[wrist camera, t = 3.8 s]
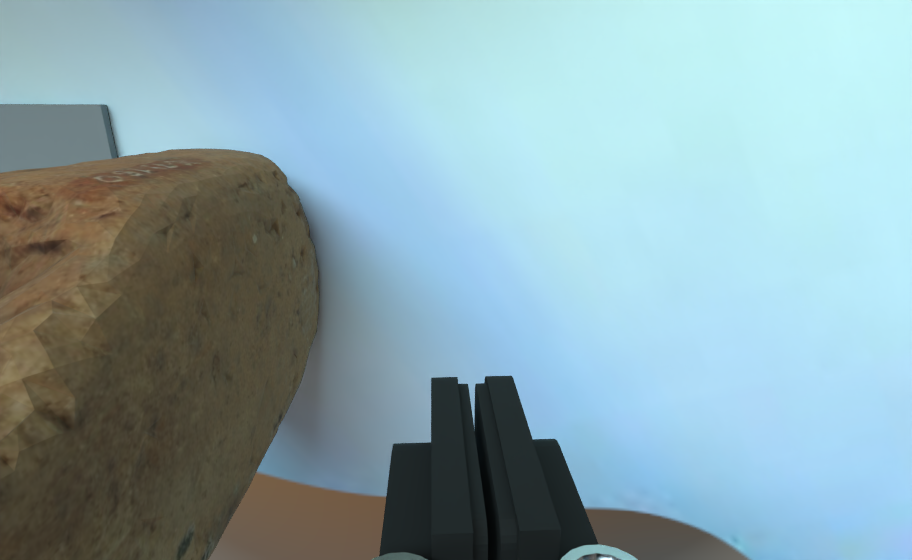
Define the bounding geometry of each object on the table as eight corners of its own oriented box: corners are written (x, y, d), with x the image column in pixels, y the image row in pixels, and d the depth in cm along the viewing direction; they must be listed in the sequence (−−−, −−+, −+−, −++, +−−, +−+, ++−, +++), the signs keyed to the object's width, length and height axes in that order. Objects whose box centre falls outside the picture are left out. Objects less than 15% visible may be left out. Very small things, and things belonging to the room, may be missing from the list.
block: (323, 364, 25) (-21, 1112, 6) (175, 355, 25) (-702, 1142, 6) (325, 150, 22) (-417, 338, 3) (153, 135, 21) (-2166, 238, 2)
